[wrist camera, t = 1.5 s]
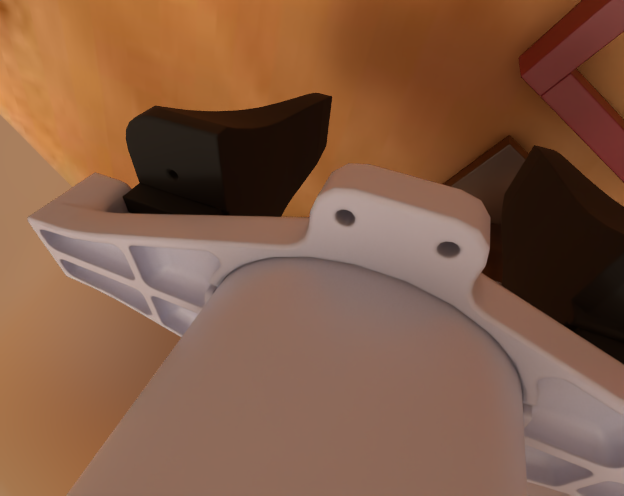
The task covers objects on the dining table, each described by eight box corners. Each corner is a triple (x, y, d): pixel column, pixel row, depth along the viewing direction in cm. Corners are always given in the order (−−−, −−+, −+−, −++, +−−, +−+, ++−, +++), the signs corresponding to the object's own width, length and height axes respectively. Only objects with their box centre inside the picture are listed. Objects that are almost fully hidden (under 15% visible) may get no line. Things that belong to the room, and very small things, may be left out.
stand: (612, 235, 23) (640, 315, 18) (479, 290, 30) (476, 357, 25) (509, 134, 21) (512, 196, 16) (394, 219, 28) (375, 278, 24)
